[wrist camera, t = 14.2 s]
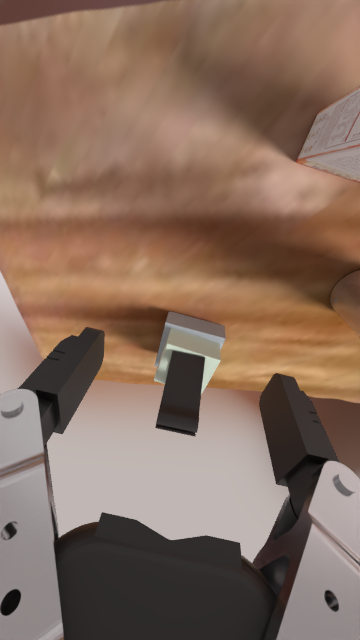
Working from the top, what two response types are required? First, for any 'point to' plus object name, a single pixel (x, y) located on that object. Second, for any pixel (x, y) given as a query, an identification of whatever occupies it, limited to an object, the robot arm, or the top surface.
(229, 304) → the top surface
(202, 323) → the tower base slab
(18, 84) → the top surface
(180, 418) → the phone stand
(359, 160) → the cracker box
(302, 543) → the robot arm
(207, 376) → the tower top block
